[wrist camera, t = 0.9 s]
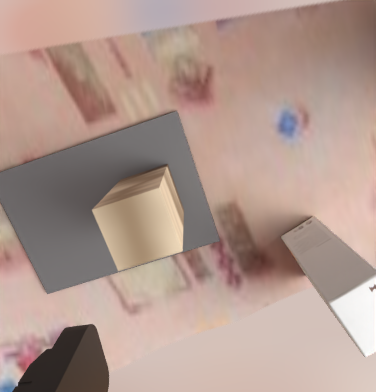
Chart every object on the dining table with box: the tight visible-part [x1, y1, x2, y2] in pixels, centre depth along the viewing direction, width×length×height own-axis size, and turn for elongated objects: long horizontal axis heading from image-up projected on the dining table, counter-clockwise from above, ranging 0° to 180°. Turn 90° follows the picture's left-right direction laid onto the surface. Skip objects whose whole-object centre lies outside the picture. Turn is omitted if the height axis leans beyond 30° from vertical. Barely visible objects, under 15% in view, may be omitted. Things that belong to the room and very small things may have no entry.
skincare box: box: [281, 216, 376, 357], centre depth 28 cm, size 6×4×12 cm
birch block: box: [92, 164, 184, 271], centre depth 27 cm, size 5×5×10 cm
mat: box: [0, 111, 220, 294], centre depth 33 cm, size 20×14×1 cm
